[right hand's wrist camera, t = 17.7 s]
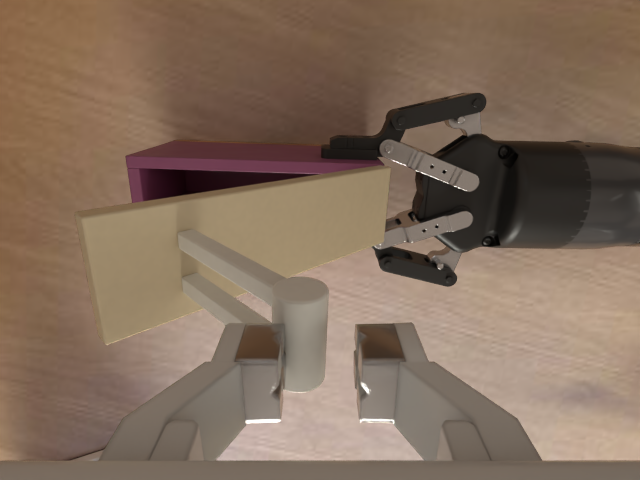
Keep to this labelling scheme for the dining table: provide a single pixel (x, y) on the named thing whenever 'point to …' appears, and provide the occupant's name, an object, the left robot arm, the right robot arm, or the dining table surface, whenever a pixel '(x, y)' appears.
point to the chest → (224, 166)
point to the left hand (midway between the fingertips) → (321, 191)
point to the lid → (233, 257)
